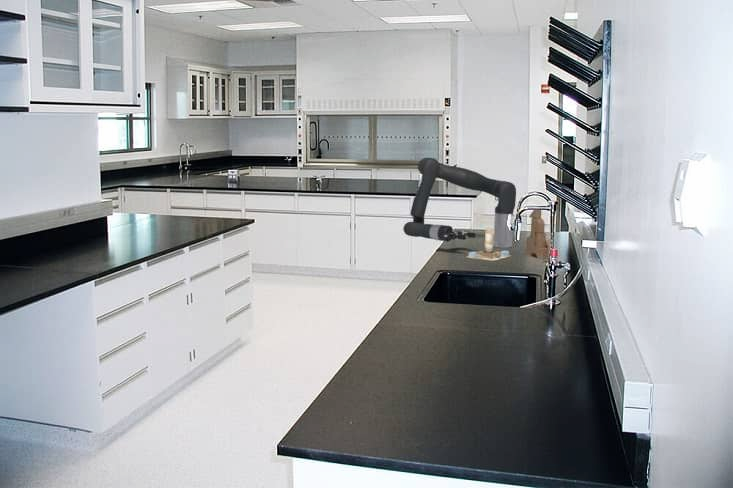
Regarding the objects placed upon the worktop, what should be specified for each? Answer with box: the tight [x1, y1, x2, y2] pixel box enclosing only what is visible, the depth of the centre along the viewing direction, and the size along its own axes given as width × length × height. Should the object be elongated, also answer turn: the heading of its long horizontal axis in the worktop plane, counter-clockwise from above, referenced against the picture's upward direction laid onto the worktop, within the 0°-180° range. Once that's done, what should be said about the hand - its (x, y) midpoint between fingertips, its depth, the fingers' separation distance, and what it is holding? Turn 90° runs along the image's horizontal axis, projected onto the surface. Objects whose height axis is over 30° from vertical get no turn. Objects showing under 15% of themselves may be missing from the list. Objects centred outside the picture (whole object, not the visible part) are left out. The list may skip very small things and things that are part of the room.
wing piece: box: [500, 250, 510, 258], centre depth 329 cm, size 6×2×2 cm, turn 140°
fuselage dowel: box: [484, 227, 495, 253], centre depth 324 cm, size 4×4×13 cm
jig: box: [466, 250, 511, 262], centre depth 327 cm, size 18×14×4 cm
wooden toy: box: [525, 209, 551, 263], centre depth 327 cm, size 16×7×25 cm, turn 20°
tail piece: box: [468, 251, 478, 259], centre depth 325 cm, size 4×2×2 cm, turn 140°
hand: (470, 236), depth 330 cm, fingers open, 8 cm apart
